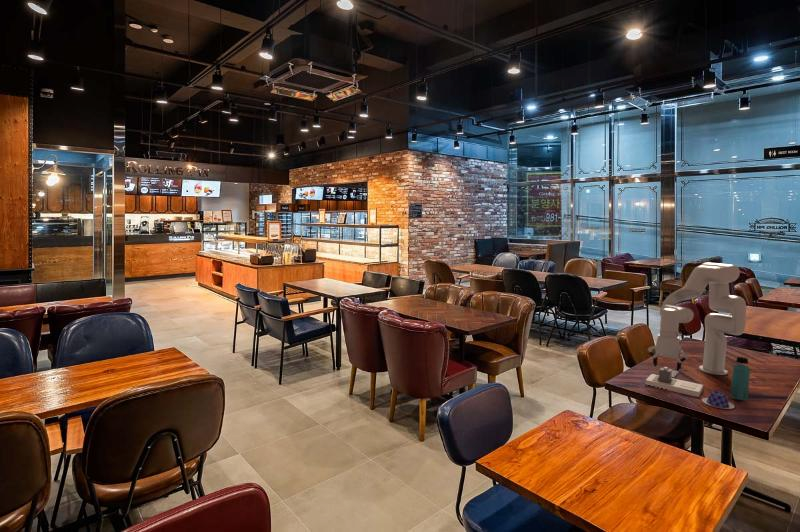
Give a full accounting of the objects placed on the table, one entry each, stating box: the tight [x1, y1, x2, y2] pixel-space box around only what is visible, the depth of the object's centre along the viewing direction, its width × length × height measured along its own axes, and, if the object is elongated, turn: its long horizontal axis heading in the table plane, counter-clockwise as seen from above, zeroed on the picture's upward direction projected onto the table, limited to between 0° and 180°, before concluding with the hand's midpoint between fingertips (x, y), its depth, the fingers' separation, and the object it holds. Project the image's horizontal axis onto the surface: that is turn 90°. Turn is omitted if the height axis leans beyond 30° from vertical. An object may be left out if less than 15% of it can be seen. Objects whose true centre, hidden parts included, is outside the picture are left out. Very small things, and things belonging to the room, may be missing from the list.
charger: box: [658, 366, 673, 383], centre depth 218 cm, size 4×4×9 cm
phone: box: [657, 369, 680, 379], centre depth 235 cm, size 13×7×1 cm, turn 137°
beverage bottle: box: [730, 356, 751, 401], centre depth 200 cm, size 6×7×20 cm
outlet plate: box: [645, 373, 704, 398], centre depth 216 cm, size 12×22×3 cm, turn 49°
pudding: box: [701, 390, 735, 410], centre depth 197 cm, size 12×12×5 cm
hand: (666, 367), depth 218 cm, fingers open, 9 cm apart
